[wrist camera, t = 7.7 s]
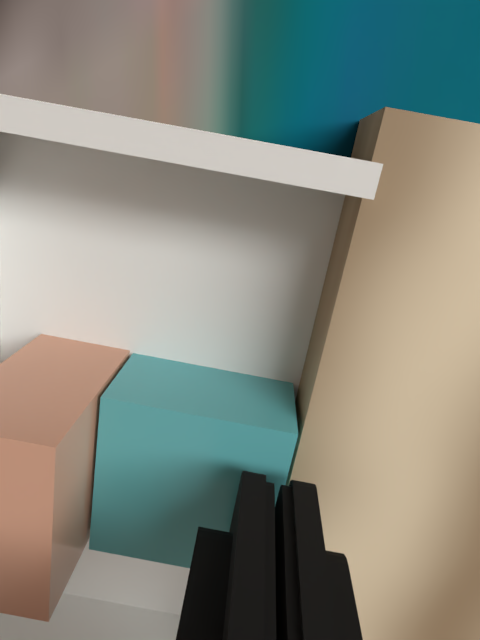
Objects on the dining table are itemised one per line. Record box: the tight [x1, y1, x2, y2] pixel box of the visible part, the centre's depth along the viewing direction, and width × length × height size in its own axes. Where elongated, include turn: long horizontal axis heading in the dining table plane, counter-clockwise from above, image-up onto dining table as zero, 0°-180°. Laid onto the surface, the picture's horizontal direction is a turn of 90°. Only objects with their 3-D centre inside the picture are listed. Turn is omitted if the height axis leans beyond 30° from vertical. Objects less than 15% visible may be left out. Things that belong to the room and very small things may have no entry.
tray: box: [0, 94, 383, 640], centre depth 12 cm, size 9×16×4 cm, turn 170°
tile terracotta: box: [0, 334, 130, 622], centre depth 11 cm, size 4×4×2 cm
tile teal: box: [89, 353, 298, 568], centre depth 12 cm, size 4×4×2 cm
